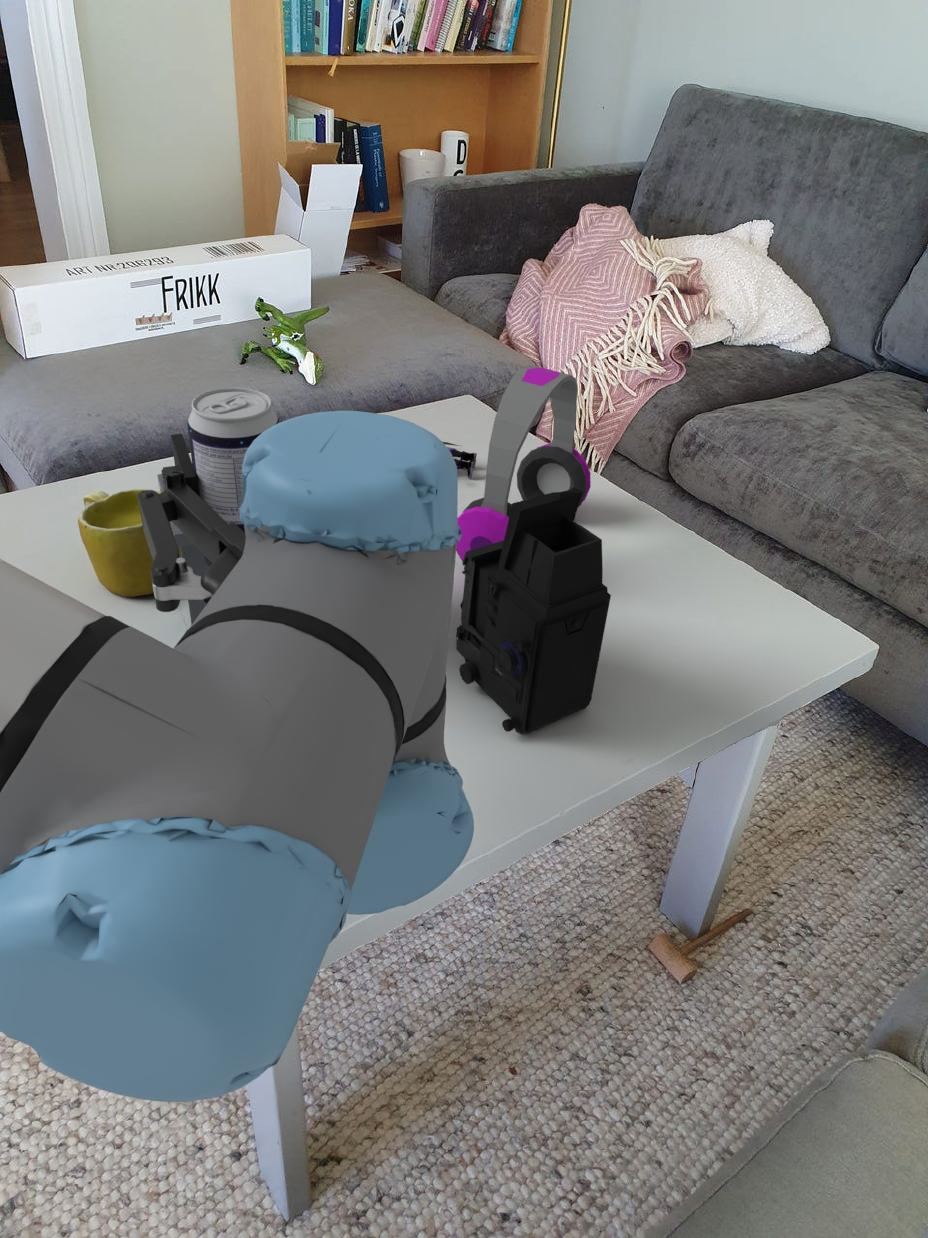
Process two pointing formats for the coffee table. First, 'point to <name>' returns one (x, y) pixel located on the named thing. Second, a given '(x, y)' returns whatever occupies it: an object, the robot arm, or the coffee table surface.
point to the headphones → (541, 467)
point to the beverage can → (225, 444)
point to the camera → (535, 613)
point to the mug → (117, 542)
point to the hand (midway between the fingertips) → (225, 447)
